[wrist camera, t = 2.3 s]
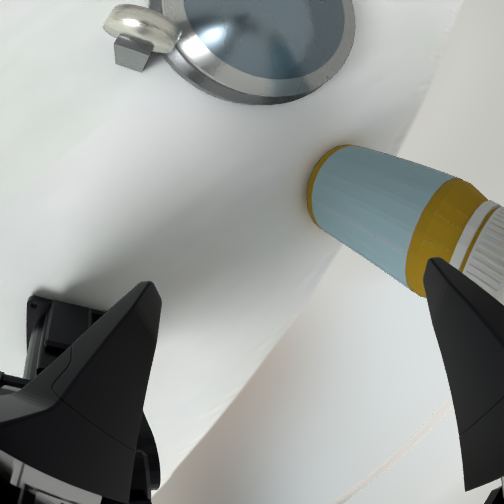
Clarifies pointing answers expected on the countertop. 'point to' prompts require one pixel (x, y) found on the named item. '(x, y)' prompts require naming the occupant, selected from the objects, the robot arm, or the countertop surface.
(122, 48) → the turntable base
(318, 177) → the bottle
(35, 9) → the countertop surface
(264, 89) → the platter
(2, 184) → the countertop surface
